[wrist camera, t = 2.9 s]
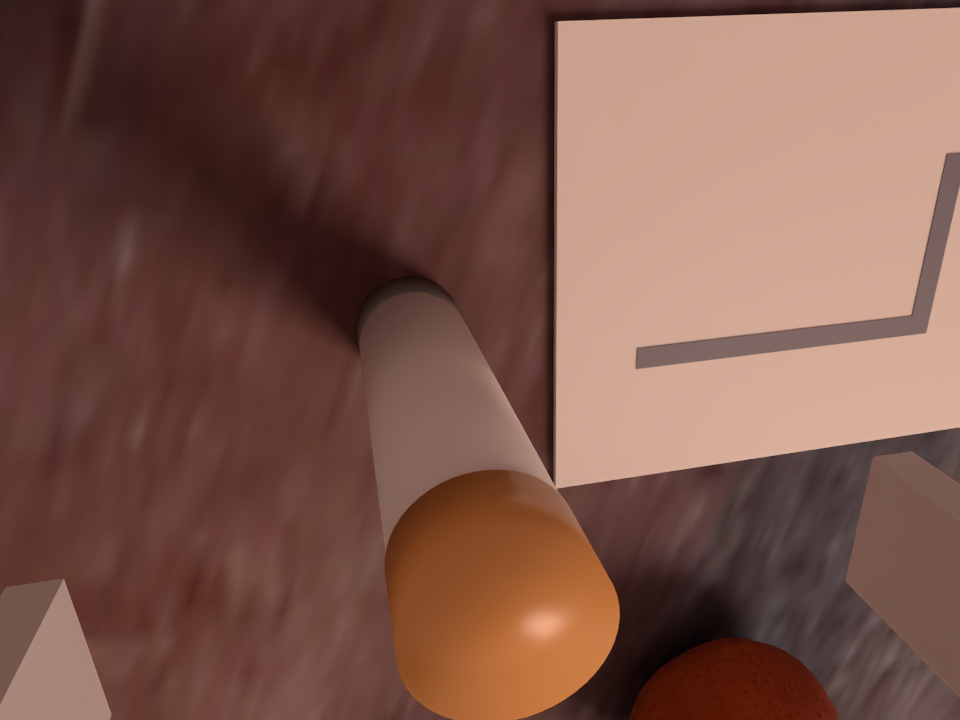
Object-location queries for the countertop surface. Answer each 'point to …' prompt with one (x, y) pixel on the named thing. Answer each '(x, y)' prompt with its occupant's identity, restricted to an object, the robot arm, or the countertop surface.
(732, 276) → the paper
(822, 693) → the fruit
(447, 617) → the marker
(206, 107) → the countertop surface
